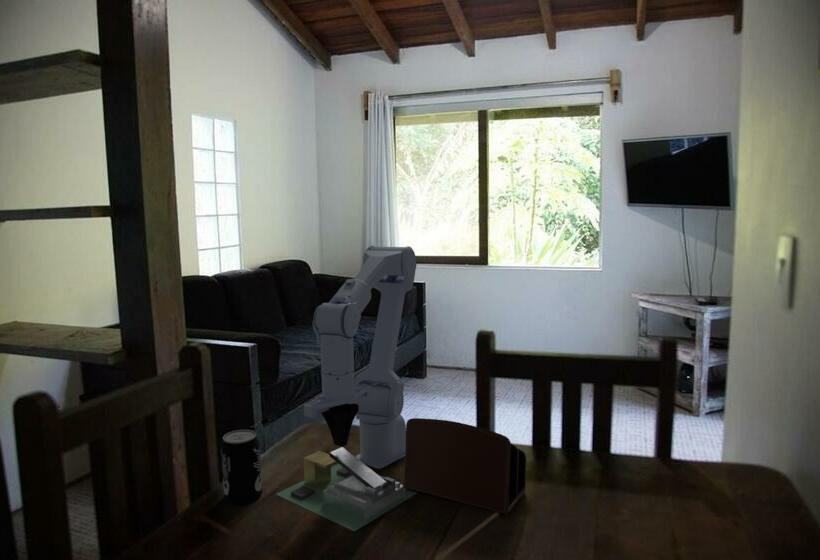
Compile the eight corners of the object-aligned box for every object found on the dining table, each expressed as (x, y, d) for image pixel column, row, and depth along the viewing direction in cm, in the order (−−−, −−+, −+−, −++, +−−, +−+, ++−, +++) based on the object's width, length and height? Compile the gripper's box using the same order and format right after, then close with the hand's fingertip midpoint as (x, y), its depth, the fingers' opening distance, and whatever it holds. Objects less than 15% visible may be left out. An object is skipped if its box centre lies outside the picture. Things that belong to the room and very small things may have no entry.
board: (339, 466, 124) (339, 460, 124) (417, 496, 112) (417, 489, 112) (275, 497, 112) (275, 491, 112) (354, 534, 100) (354, 527, 99)
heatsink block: (363, 482, 116) (362, 460, 115) (404, 498, 110) (404, 475, 109) (323, 503, 109) (322, 479, 108) (365, 522, 102) (364, 497, 102)
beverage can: (252, 510, 108) (248, 444, 106) (217, 506, 109) (213, 441, 108) (268, 492, 114) (264, 429, 113) (235, 489, 116) (231, 427, 114)
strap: (341, 451, 114) (342, 446, 113) (388, 488, 107) (389, 483, 107) (329, 456, 111) (330, 452, 111) (376, 495, 105) (377, 490, 104)
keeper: (320, 475, 119) (319, 450, 118) (341, 484, 116) (340, 458, 115) (304, 483, 116) (303, 457, 115) (325, 492, 112) (324, 466, 112)
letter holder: (507, 516, 104) (509, 434, 102) (403, 489, 113) (403, 414, 111) (526, 492, 112) (528, 416, 111) (427, 470, 122) (429, 399, 120)
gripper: (322, 385, 101) (325, 464, 103) (382, 365, 112) (384, 436, 114) (294, 377, 106) (297, 453, 108) (354, 358, 117) (356, 428, 119)
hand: (340, 444), depth 111 cm, fingers closed
